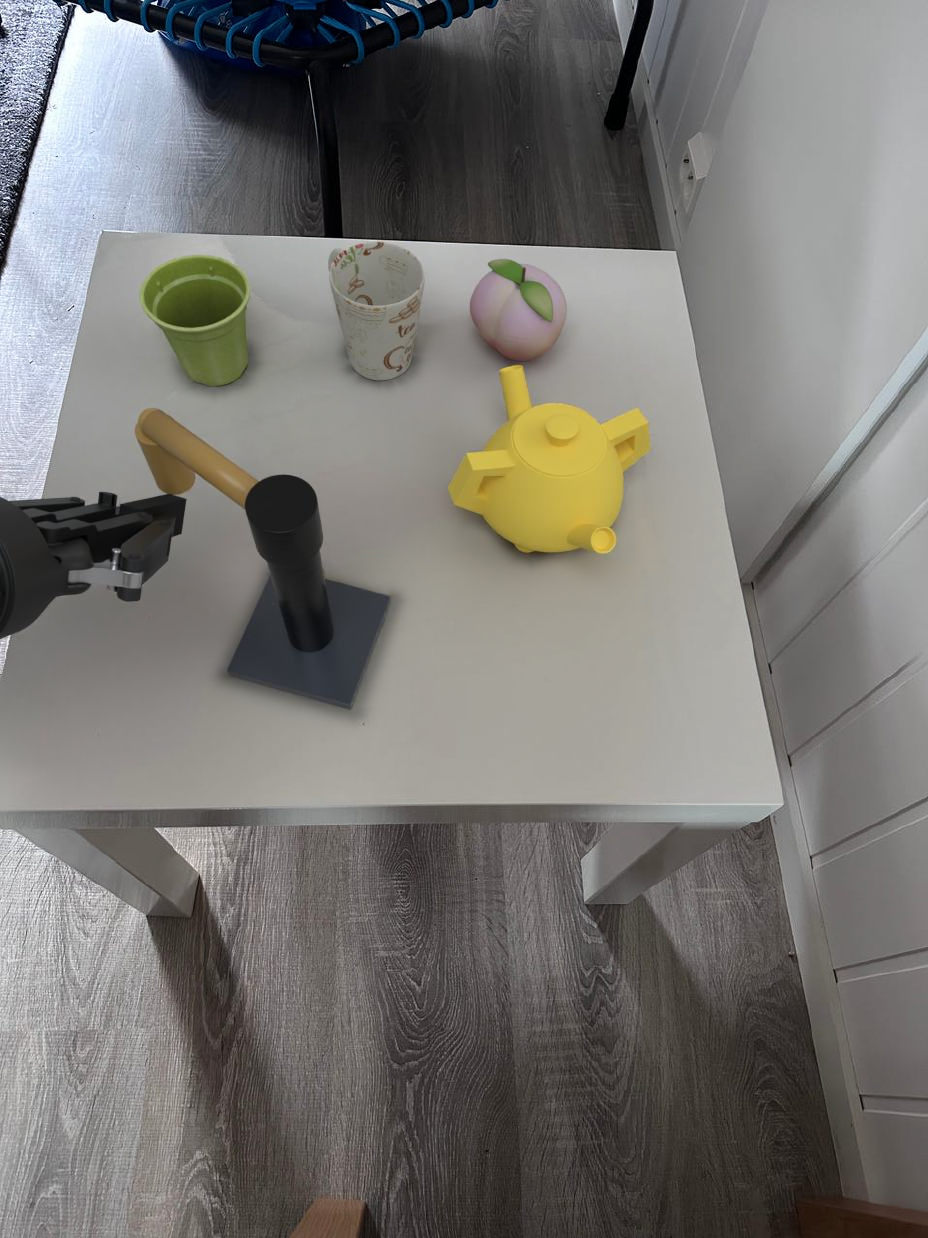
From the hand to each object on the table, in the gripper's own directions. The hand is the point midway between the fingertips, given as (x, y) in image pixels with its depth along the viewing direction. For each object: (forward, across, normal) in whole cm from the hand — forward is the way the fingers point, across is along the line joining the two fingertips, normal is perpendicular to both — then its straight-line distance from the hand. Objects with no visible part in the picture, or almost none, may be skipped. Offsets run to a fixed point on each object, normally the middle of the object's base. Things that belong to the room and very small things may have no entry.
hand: (174, 513), depth 62 cm
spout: (-2, -6, -1) cm, 6 cm away
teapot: (+17, -26, -5) cm, 31 cm away
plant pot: (+22, +8, -10) cm, 25 cm away
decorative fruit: (+30, -18, -18) cm, 39 cm away
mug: (+27, -4, -15) cm, 31 cm away
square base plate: (+4, -11, +8) cm, 14 cm away
